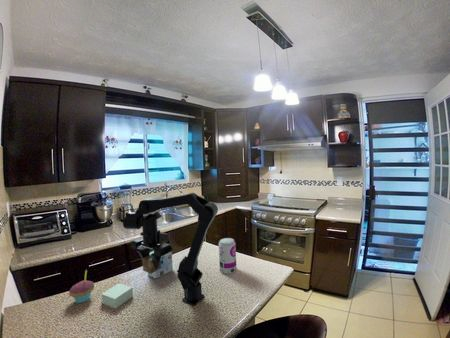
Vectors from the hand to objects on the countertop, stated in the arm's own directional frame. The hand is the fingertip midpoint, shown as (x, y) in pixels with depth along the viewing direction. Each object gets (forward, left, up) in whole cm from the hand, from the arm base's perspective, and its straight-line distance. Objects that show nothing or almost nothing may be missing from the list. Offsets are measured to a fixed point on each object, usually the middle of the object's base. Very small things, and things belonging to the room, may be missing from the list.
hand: (152, 266), depth 88 cm
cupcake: (+24, +16, -12) cm, 31 cm away
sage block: (+11, +9, -12) cm, 19 cm away
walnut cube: (0, 0, -1) cm, 1 cm away
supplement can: (-17, -31, -12) cm, 37 cm away
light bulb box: (+12, -14, -12) cm, 22 cm away
